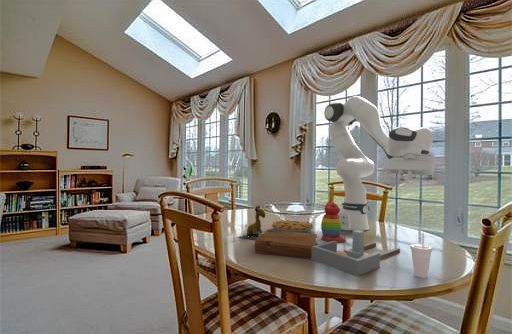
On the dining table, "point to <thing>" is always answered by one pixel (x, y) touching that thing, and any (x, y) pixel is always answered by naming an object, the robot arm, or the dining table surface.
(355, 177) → the robot arm
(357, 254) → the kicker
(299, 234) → the diary
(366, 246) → the lane
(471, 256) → the dining table surface
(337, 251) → the ball
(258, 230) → the stuffed giraffe
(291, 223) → the pie
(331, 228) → the stacking bear
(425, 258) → the smoothie
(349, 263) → the grey walled tray
